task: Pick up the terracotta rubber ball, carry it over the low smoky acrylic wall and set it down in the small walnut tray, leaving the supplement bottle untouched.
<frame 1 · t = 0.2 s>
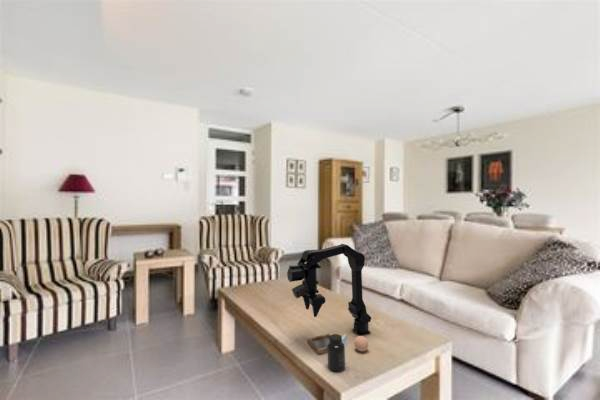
hand: (311, 312, 127), 14 cm above the table, fingers open, 9 cm apart
supplement bottle: (336, 367, 110), on the table
acrylic wall: (338, 350, 122), on the table
walnut tray: (324, 345, 126), on the table
ball: (361, 350, 121), on the table
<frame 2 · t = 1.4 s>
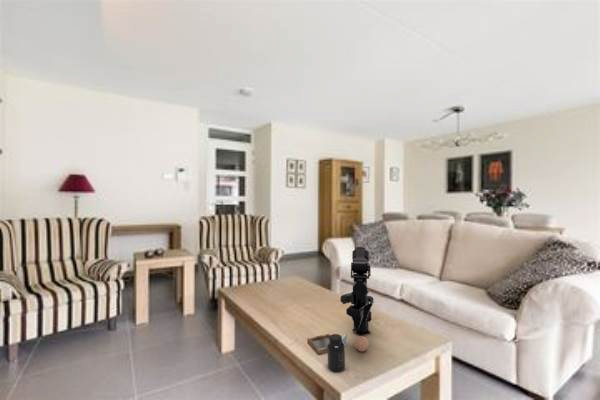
hand: (360, 324, 121), 11 cm above the table, fingers open, 9 cm apart
nothing on the table moved.
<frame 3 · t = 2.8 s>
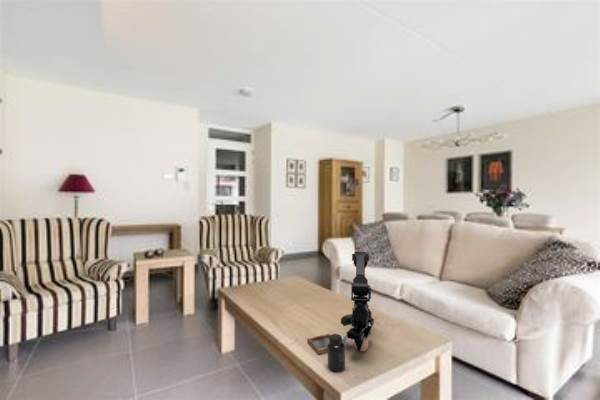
hand: (361, 346, 121), 2 cm above the table, fingers closed on ball, 6 cm apart
ball: (361, 350, 121), on the table, touching gripper
everything else where it was.
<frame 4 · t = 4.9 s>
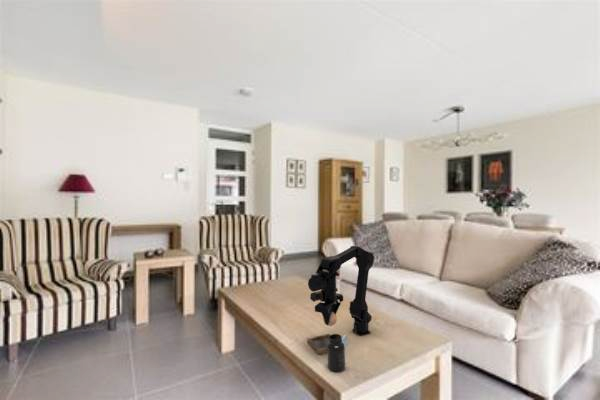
hand: (329, 321, 124), 11 cm above the table, fingers closed on ball, 6 cm apart
ball: (329, 325, 124), point 10 cm above the table, touching gripper
everything else where it was.
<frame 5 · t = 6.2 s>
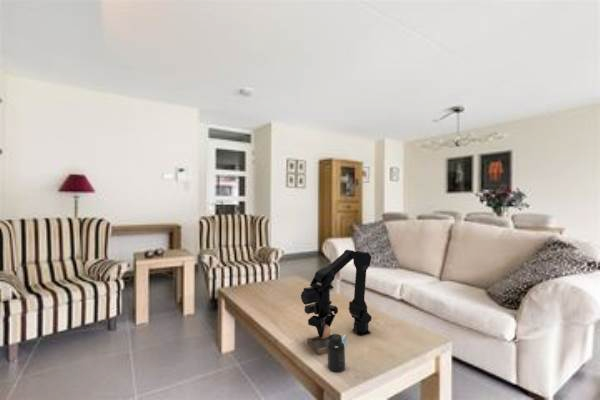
hand: (323, 334, 126), 5 cm above the table, fingers closed on ball, 6 cm apart
ball: (324, 337, 126), point 4 cm above the table, touching gripper
everything else where it was.
when the fingers open (3 cm above the table, at t = 7.1 s): ball drops 1 cm, resting on walnut tray.
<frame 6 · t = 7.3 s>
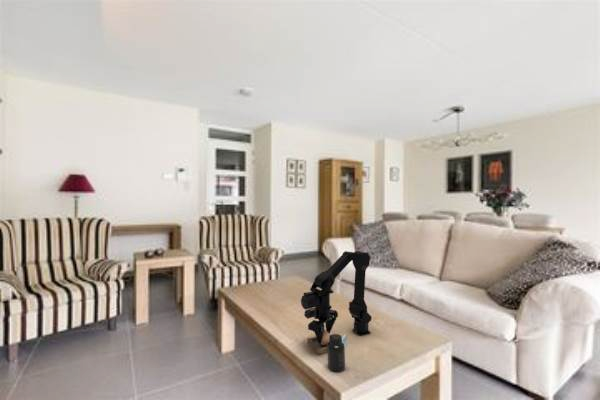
hand: (323, 338, 126), 3 cm above the table, fingers open, 8 cm apart
ball: (324, 344, 125), point 1 cm above the table, touching walnut tray
everything else where it was.
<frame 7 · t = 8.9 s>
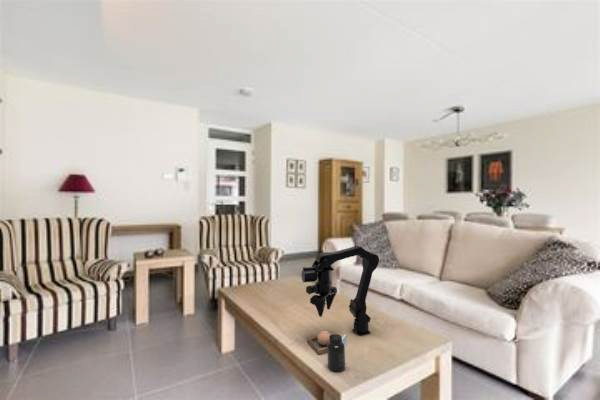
hand: (324, 312, 133), 12 cm above the table, fingers open, 9 cm apart
nothing on the table moved.
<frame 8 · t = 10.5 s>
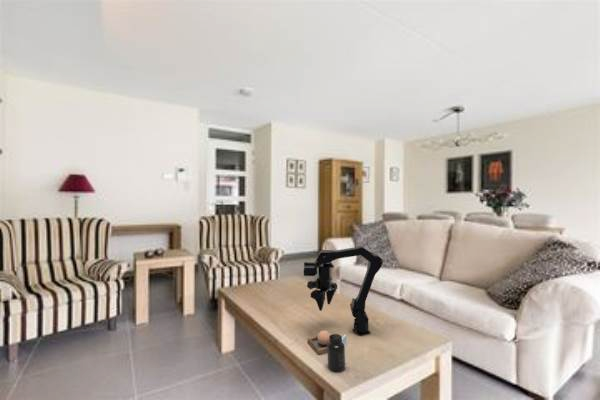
hand: (324, 307, 139), 12 cm above the table, fingers open, 9 cm apart
nothing on the table moved.
at the end: ball 0.1 cm from the walnut tray (horizontally); ball point 0.6 cm above the table; the gripper is holding nothing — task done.
